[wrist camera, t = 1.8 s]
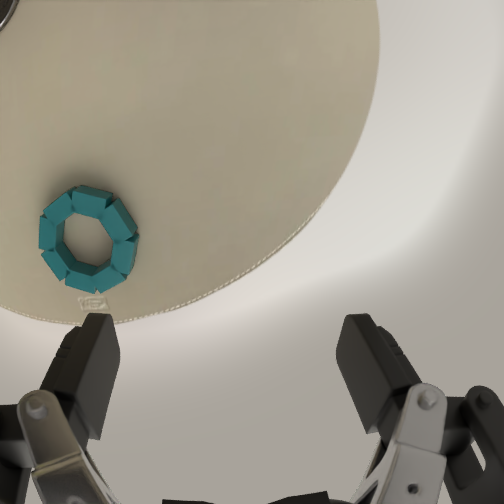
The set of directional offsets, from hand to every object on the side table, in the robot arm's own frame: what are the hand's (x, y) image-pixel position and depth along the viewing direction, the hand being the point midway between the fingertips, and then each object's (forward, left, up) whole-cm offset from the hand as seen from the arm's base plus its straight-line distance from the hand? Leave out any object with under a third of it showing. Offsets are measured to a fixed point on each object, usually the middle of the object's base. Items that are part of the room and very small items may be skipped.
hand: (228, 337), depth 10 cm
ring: (-11, -8, -19) cm, 24 cm away
